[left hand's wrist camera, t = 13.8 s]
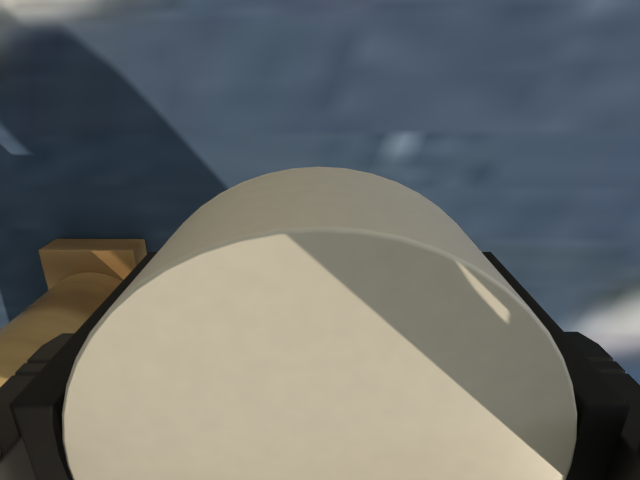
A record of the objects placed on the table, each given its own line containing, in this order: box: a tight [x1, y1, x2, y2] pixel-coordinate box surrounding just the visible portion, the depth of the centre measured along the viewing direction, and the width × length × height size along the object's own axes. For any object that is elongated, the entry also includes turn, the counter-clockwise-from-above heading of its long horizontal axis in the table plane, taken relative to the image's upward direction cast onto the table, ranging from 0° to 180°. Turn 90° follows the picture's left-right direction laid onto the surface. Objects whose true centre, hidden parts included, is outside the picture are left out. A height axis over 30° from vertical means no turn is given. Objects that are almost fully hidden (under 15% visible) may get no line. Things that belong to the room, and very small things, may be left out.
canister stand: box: [0, 239, 147, 387], centre depth 29 cm, size 28×7×12 cm, turn 0°
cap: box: [62, 167, 577, 480], centre depth 10 cm, size 9×9×4 cm
